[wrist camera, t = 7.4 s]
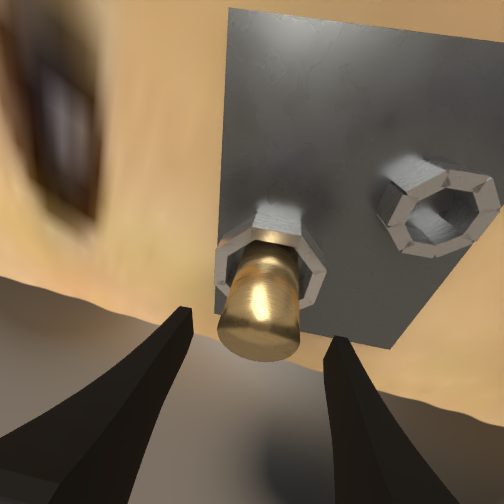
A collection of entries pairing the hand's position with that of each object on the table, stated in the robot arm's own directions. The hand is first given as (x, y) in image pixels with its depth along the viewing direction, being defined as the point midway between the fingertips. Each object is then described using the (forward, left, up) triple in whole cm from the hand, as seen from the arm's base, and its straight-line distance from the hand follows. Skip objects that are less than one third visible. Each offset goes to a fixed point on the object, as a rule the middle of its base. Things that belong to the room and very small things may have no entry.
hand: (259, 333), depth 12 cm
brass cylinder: (0, 0, -7) cm, 7 cm away
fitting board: (-4, -3, -8) cm, 9 cm away
